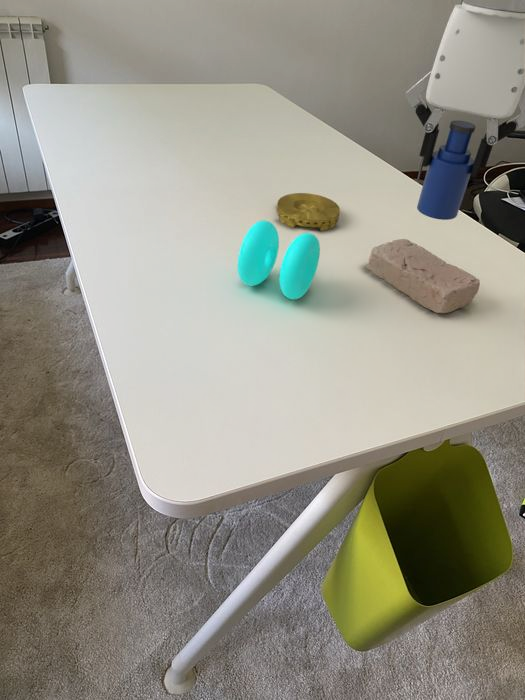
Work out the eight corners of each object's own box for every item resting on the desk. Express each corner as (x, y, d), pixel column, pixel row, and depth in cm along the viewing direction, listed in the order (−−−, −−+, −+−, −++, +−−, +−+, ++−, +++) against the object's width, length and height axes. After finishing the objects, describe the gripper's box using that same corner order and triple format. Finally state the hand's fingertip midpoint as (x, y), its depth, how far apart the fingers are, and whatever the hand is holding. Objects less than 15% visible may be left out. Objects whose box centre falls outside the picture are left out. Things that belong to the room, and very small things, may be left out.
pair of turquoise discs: (260, 265, 91) (266, 208, 84) (317, 283, 88) (326, 225, 81) (232, 293, 83) (236, 233, 77) (293, 313, 80) (301, 253, 74)
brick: (363, 269, 92) (369, 244, 89) (398, 257, 96) (404, 233, 93) (439, 320, 82) (448, 294, 79) (474, 305, 87) (484, 280, 84)
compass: (336, 206, 111) (338, 196, 110) (339, 234, 102) (341, 223, 100) (277, 200, 111) (278, 190, 110) (275, 227, 102) (276, 216, 100)
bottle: (458, 208, 73) (487, 122, 66) (454, 223, 69) (484, 134, 62) (420, 199, 74) (443, 114, 67) (413, 213, 71) (438, 125, 64)
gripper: (587, 4, 58) (521, 173, 69) (425, -18, 62) (388, 145, 73) (593, 12, 52) (520, 194, 64) (414, -13, 56) (376, 163, 68)
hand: (450, 166), depth 68 cm, fingers closed on bottle, 5 cm apart
